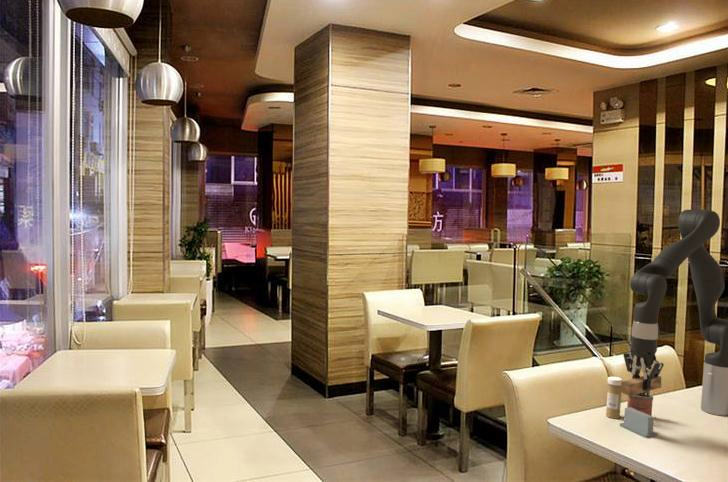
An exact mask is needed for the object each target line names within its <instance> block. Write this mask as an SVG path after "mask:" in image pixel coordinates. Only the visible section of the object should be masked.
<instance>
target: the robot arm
mask: <svg viewBox="0 0 728 482" xmlns="http://www.w3.org/2000/svg"><path fill="white" fill-rule="evenodd" d="M677 223H678V224H677V225H678V229H679V230H678V231H679V234H680V236H681V239H678V240H677V241H674V242H673V243H671V244H669V245H668V246H666V247H664V248H663V249H661V251H660V252H659V253H658V254H657V255H656V256H655V258H654V259H653V260H652V261H651V262H649V263H648V264H646V265H645V266H643V267H642V268H640V269H639V270H637V271H635V273H634V274H633V275H632V276H631V278H630V282H629V287H630V289H631V291H632V292H633V293H635V294H638V295H642V296H647V297H648V298H647V300H646V301H640V302H637V303H635V305H634V309H633V310H634V311H633V322H632V326H631V327H632V328H631V338H630V349H631V351H630V352H625V353H623V358H624V359H623V360H624V363H625V367H626V370H627V372H628V373H629V372H630V373H631V375H632V377H631V379H634V378H639V377H641V375H640V374H641V372H642V373H643V375H642V376H644V379H643V390H644V391H648V390H649V389H650V388H651V379H657V377H658V376H660V373H661V371H662V370H663V367H664V366H665V365H664V363H663V362H659V361H658V360H657V357H656V353H657V351H658V342H659V341H658V340H659V339H658V338H659V314H660V310H661V306H662V303H663V300H664V297H665V296H666V293H667V289H668V283H667V281H666V279H669V278H670V277H672V276H673V274H674V273H675V272H676V271H677V270H678V269H679V267H680V266H681V265H682V264H683V263H684V261H685V260H686V259H687V260H688V264H689V268H690V273H691V278H692V279H691V280H692V284H693V287H694V291H695V297H696V301H697V307H698V316H699V327H700V333H701V334H700V335H701V336H702V338H703V339H704V341H705V342H707V343H711V344H713V345H718V346H719V351H717V352H708V353H706V354H705V355H704V360H703V361H704V363H703V372H702V373H703V374H702V388H701V397H700V398H701V400H700V409H701V410H702V411H703V412H706V413H708V414H711V415H716V416H722V417H723V416H728V319H725V318H719V317H717V314H716V313H717V312H716V304H717V303H718V302H719V301H718V300H719V299H720V298H721V295H722V294H723V292H724V291H725V287H726V285H725V280H724V275H723V274H724V273H723V270H722V267H721V266H720V264H719V262H717V260H716V259H715V258H714V257H713V256H712V254H711V253H710V252H709V251H708V250H707V249H706V247H705V246H704V245H705V244H706V243H707V242H708V241H710V240H711V239H712V238H713V237H714V236H715V235H716V234H717V232H718V231H719V229H720V225H721V219H720V216H719V214H718V213H717V212H716V211H714V210H710V209H683V211H681V212H680V214H679V216H678V220H677Z"/></svg>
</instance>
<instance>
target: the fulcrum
mask: <svg viewBox="0 0 728 482" xmlns="http://www.w3.org/2000/svg"><path fill="white" fill-rule="evenodd" d="M623 417H624V418H623V422H621V423H619V427H621V428H624V429H626V430H627V431H629V432H632V433H634V434H636V435H639V436H641V437H643V438H645V439H646V438H651V437H656V436H657V435H658V433H657V432H655V431H653V430H654V419H655V417H654V416H653V415H652V416H650V415H648V414H645V413H643V412H640V411H638V410H636V409H633V408H631V407H629V408H627V407H625V408H624V416H623Z"/></svg>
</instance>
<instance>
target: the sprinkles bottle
mask: <svg viewBox="0 0 728 482" xmlns="http://www.w3.org/2000/svg"><path fill="white" fill-rule="evenodd" d="M622 381H623V378H621V377H618V376H608V377H607V394H606V395H607V396H606V412H605V416H606V417H608V418H610V419H611V418H612V419H615V420H616V419H620V417H621V405H622V393H621V382H622Z"/></svg>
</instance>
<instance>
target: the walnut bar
mask: <svg viewBox="0 0 728 482" xmlns="http://www.w3.org/2000/svg"><path fill="white" fill-rule="evenodd" d="M643 379H644V375H642V376H640V377H639V378H634V379H632V378H631V379H627V380H622V382H621V394H623V395H626V396H627V397H628V396H631V395H635V394H639V393H642V392H646V391H644V390H643ZM660 388H662V376H660V375H658V377H657V379H651V388H650V389H649V390H648V391H650V392H651V391H653V390H657V389H660Z"/></svg>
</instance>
